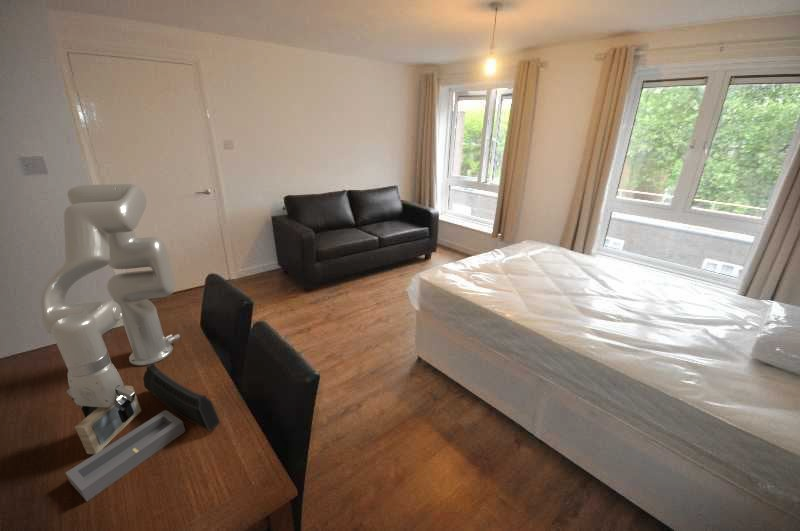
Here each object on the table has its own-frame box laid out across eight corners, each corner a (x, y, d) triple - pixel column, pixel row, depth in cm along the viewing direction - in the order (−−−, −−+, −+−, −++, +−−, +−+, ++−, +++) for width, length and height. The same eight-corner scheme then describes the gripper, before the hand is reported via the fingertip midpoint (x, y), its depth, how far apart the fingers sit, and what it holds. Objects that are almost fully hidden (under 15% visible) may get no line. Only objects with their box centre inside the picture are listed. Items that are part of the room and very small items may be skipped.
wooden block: (133, 410, 95) (124, 385, 92) (142, 411, 95) (133, 386, 91) (87, 454, 82) (74, 426, 79) (97, 454, 82) (85, 427, 78)
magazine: (221, 404, 86) (151, 343, 95) (209, 412, 83) (138, 349, 92) (220, 442, 94) (155, 383, 103) (209, 451, 92) (144, 389, 101)
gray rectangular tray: (168, 419, 92) (165, 409, 91) (185, 431, 89) (182, 421, 87) (70, 483, 75) (65, 472, 74) (86, 501, 71) (81, 490, 70)
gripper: (39, 371, 77) (65, 426, 84) (109, 376, 76) (130, 431, 83) (71, 351, 84) (92, 403, 91) (135, 355, 83) (153, 408, 90)
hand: (110, 416), depth 87 cm, fingers open, 9 cm apart
